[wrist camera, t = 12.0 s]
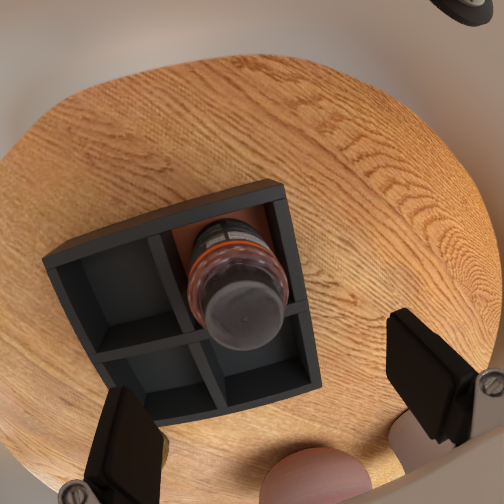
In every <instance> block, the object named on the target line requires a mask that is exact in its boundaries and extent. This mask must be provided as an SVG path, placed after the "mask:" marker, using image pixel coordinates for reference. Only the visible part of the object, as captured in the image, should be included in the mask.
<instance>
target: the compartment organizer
mask: <svg viewBox="0 0 504 504" xmlns="http://www.w3.org/2000/svg"><path fill="white" fill-rule="evenodd" d="M224 218H232V219H238V220H241V221H244V222H246V223H247V224H249V225H251V226H252V227H253V228H254V229H255V230H256V231H257V232H258V234H259V235H260V236H261V238H262V239H263V240H264V242H265V243H266V245H267V246H268V247H269V249H270V250H271V251H272V253H273V254H274V256H275V257H276V258H277V260H278V261H279V263H280V264H281V266H282V268H283V270H284V272H285V274H286V277H287V280H288V289H289V294H288V301H287V305H286V307H285V310H284V319H283V324H282V326H281V328H280V330H279V331H278V333H277V334H276V336H275V337H274V338H273V339H272V340H271V341H269V342H268V343H267V344H265V345H263V346H261V347H259V348H256V349H252V350H247V351H243V350H242V351H239V350H232V349H229V348H226V347H224V346H222V345H220V344H219V343H217V342H216V341H215V340H214V339H213V338H212V337H211V336H210V334H209V332H208V330H207V329H205V328H204V327H203V326H202V325H201V324H200V323H199V322H198V321H197V320H196V318H195V317H194V315H193V313H192V311H191V309H190V306H189V302H188V295H187V290H188V280H189V271H190V262H191V254H192V247H193V243H194V241H195V239H196V237H197V235H198V233H199V232H200V231H201V230H202V229H203V228H204V227H205V226H207V225H208V224H210V223H211V222H214V221H216V220H219V219H224ZM42 261H43V263H44V266H45V268H46V270H47V274H48V276H49V278H50V281H51V283H52V285H53V288H54V290H55V292H56V294H57V296H58V299H59V301H60V303H61V305H62V307H63V309H64V311H65V313H66V315H67V317H68V319H69V321H70V323H71V325H72V327H73V329H74V331H75V333H76V335H77V337H78V339H79V340H80V342H81V344H82V346H83V348H84V349H85V351H86V353H87V354H88V357H89V358H90V360H91V362H92V363H93V365H94V367H95V368H96V370H97V372H98V373H99V375H100V377H101V378H102V380H103V381H104V383H105V385H106V386H107V388H108V389H110V388H111V387H118V386H126V387H127V388H128V389H132V390H133V392H134V393H135V395H136V396H137V398H138V399H139V401H140V402H141V404H142V405H143V407H144V408H145V410H146V411H147V413H148V414H149V416H150V417H151V419H152V420H153V421H154V423H155V424H156V426H157V427H162V426H169V425H175V424H181V423H187V422H192V421H198V420H203V419H208V418H213V417H217V416H222V415H226V414H231V413H235V412H239V411H243V410H247V409H251V408H255V407H259V406H263V405H266V404H270V403H273V402H277V401H280V400H284V399H287V398H290V397H294V396H297V395H300V394H303V393H306V392H309V391H312V390H315V389H318V388H321V387H322V381H321V374H320V368H319V362H318V356H317V350H316V344H315V338H314V333H313V327H312V321H311V316H310V310H309V304H308V299H307V294H306V289H305V283H304V278H303V273H302V268H301V263H300V258H299V253H298V248H297V244H296V239H295V234H294V229H293V225H292V220H291V216H290V211H289V206H288V202H287V198H286V193H285V189H284V185H283V184H282V183H279V182H276V181H273V180H271V179H265V180H261V181H257V182H253V183H249V184H245V185H241V186H238V187H234V188H230V189H226V190H223V191H219V192H216V193H212V194H208V195H205V196H201V197H198V198H195V199H191V200H188V201H184V202H181V203H178V204H174V205H171V206H168V207H165V208H161V209H158V210H155V211H152V212H149V213H146V214H142V215H139V216H136V217H133V218H130V219H127V220H124V221H121V222H118V223H115V224H112V225H109V226H107V227H104V228H101V229H98V230H95V231H92V232H90V233H87V234H84V235H81V236H79V237H76V238H73V239H70V240H68V241H66V242H65V243H63V244H62V245H60V246H59V247H57V248H56V249H55V250H53V251H52V252H50V253H49V254H48V255H46V256H45V257H43V258H42Z"/></svg>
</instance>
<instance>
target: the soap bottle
mask: <svg viewBox="0 0 504 504" xmlns="http://www.w3.org/2000/svg"><path fill="white" fill-rule="evenodd" d="M388 439H389V443H390V446H391V448H392V449H393V451H394V453H395V454H396V456H397V458H398V459H399V461H400V463H401V464H402V466H403V469H404V471H405V474H408V473H410V472H412V471H414V470H416V469H418V468H420V467H422V466H424V465H426V464H428V463H430V462H432V461H433V460H435V459H437V458H439V457H441V456H442V455H444V454H446V453H448V452H449V451H451V450H452V449H453V443H452V442H451V441H450V440H449V439H448V440H446V441H444V442H443V443H441V444H438V443H437V441H436V440H435V439H434V440H431V439H430V438H429V437H428V435H427V434H426V432H425V431H424V430H423V428H422V427H421V425H420V424H419V422H418V421H417V419H416V418H415V417H414V415H413V414H412V412H411V411H410V409H409V410H408V411H406V412H405V413H404V414H402V415H401V416H400V417H399V418H398V419H397V420H396V421H395V422H394V424H393V425H392V426H391V429H390V431H389V435H388Z"/></svg>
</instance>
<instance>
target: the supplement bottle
mask: <svg viewBox="0 0 504 504" xmlns="http://www.w3.org/2000/svg"><path fill="white" fill-rule="evenodd" d="M288 294H289V289H288V280H287V277H286V274H285V272H284V270H283V268H282V266H281V264H280V263H279V261H278V260H277V258H276V257H275V256H274V254H273V253H272V251H271V250H270V249H269V247H268V246H267V245H266V243H265V242H264V240H263V239H262V238H261V236H260V235H259V234H258V232H257V231H256V230H255V229H254V228H253V227H252V226H251V225H249V224H247V223H246V222H244V221H241V220H238V219H232V218H224V219H219V220H216V221H214V222H211V223H210V224H208V225H207V226H205V227H204V228H203V229H202V230H201V231H200V232H199V233H198V235H197V237H196V239H195V241H194V243H193V247H192V254H191V262H190V271H189V280H188V290H187V295H188V302H189V306H190V309H191V311H192V313H193V315H194V317H195V318H196V320H197V321H198V322H199V323H200V324H201V325H202V326H203V327H204V328H205V329H207V330H208V332H209V334H210V336H211V337H212V338H213V339H214V340H215V341H216V342H217V343H219V344H220V345H222V346H224V347H226V348H229V349H232V350H239V351H242V350H243V351H247V350H252V349H256V348H259V347H261V346H263V345H265V344H267V343H268V342H269V341H271V340H272V339H273V338H274V337H275V336H276V334H277V333H278V331H279V330H280V328H281V326H282V324H283V319H284V310H285V307H286V305H287V301H288Z"/></svg>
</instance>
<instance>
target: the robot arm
mask: <svg viewBox="0 0 504 504" xmlns="http://www.w3.org/2000/svg"><path fill="white" fill-rule="evenodd" d="M458 1H460V2H462V3H463V4H465V5H468V6H471V7H477V6H480V5H482V4H483V3H484V2H485V0H458ZM386 325H387V346H386V375H387V378H388V380H389V381H390V383H391V384H392V385H393V387H394V388H395V390H396V391H397V392H398V394H399V395H400V397H401V398H402V399H403V401H404V402H405V404H406V405H407V407H408V408H409V409H410V411H411V412H412V414H413V415H414V417H415V418H416V419H417V421H418V422H419V424H420V425H421V427H422V428H423V430H424V431H425V432H426V434H427V435H428V437H429V438H430V439H431V440H434V439H435V440H436V441H437V443H438V444H441V443H443V442H444V441H446V440H448V439H449V440H450V441H451V442H452V443H453V449H452V450H451V451H449V452H448V453H446V454H444V455H442V456H441V457H439V458H437V459H435V460H433V461H432V462H430V463H428V464H426V465H424V466H422V467H420V468H418V469H416V470H414V471H412V472H410V473H408V474H406V475H404V476H402V477H400V478H398V479H395V480H393V481H391V482H389V483H387V484H384V485H382V486H380V487H377V488H375V489H372V490H370V491H367V492H365V493H362V494H360V495H357V496H354V497H352V498H349V499H346V500H343V501H340V502H337V503H334V504H504V370H503V369H501V368H488V369H486V370H483V371H482V372H481V373H478V372H477V371H476V370H474V369H473V368H472V367H471V366H470V365H469V364H468V363H467V362H466V361H465V360H464V359H463V358H462V357H461V356H460V355H459V354H458V353H457V352H456V351H455V350H454V349H453V348H452V347H451V346H449V345H448V344H447V343H446V342H445V341H444V340H443V339H442V338H441V337H440V336H439V335H437V334H436V333H434V332H432V331H431V330H430V329H429V328H428V327H427V326H426V325H425V324H424V323H423V322H422V321H420V320H419V319H418V318H417V317H416V316H415V315H414V314H413V313H412V312H410V311H409V310H408V309H407V308H402V309H399V310H397V311H394V312H392V313H391V314H390V318H388V319H387V322H386ZM163 444H164V439H163V435H162V433H161V431H160V430H159V428H158V427H157V426H156V424H155V423H154V421H153V420H152V419H151V417H150V416H149V414H148V413H147V411H146V410H145V408H144V407H143V405H142V404H141V402H140V401H139V399H138V398H137V396H136V395H135V393H134V392H133V390H132V389H128V388H127V387H126V386H118V387H111V388H110V389H109V392H108V395H107V398H106V401H105V404H104V407H103V410H102V413H101V416H100V420H99V423H98V426H97V429H96V433H95V436H94V440H93V443H92V447H91V450H90V454H89V457H88V461H87V465H86V469H85V473H84V479H83V481H82V480H78V479H76V480H71V481H68V482H67V483H65V484H64V485H63V486H62V487H61V489H60V490H59V493H58V503H59V504H159V499H160V482H161V468H162V455H163Z"/></svg>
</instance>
